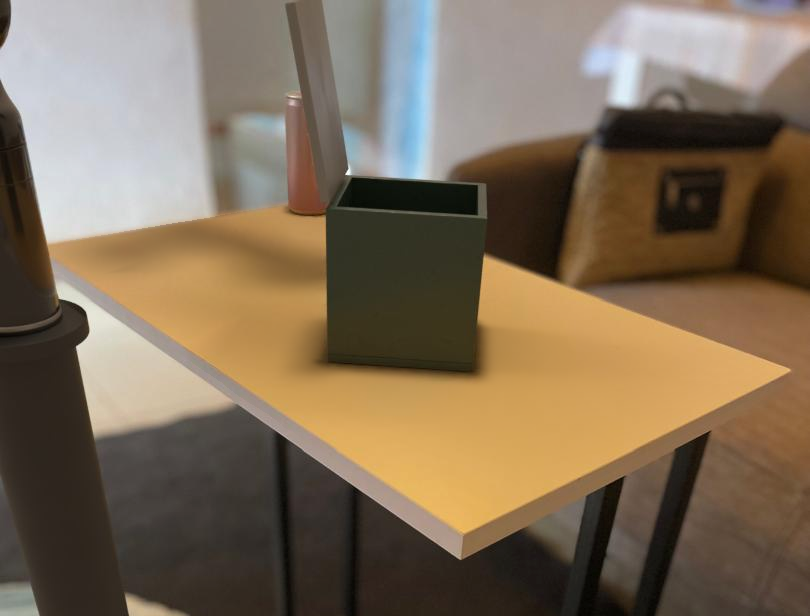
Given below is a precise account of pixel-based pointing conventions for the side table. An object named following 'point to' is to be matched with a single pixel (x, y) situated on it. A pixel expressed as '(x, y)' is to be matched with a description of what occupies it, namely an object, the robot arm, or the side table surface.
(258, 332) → the side table surface
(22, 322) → the robot arm
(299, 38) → the bin lid
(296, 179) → the beverage can
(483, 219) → the trash bin
